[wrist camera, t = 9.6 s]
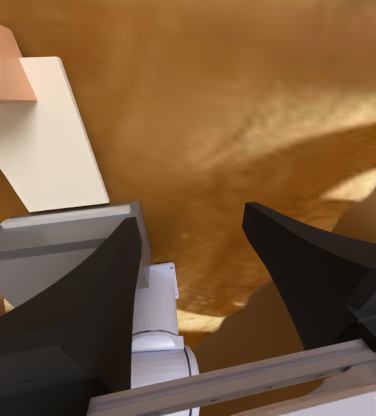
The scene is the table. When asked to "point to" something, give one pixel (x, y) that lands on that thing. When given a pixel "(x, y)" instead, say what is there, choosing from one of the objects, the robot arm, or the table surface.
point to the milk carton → (2, 306)
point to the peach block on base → (43, 134)
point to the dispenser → (59, 246)
